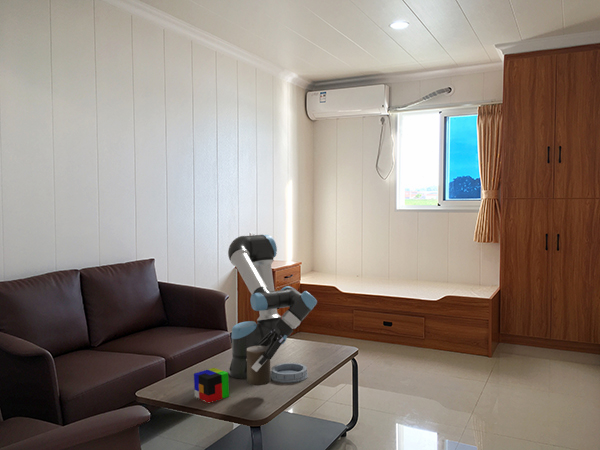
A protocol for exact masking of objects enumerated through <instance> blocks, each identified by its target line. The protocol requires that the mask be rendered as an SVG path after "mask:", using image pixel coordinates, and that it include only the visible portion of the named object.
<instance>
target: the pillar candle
mask: <svg viewBox="0 0 600 450" xmlns="http://www.w3.org/2000/svg"><path fill="white" fill-rule="evenodd" d="M267 348H268V347H267V346H253V347H249V348H247V378H246V381H247V384H248V385H252V386H266V385H268V384H270V383H271V380H272V379H271V359H267V360H266V362H265V363H264V364H263V365H262V366H261V367H260V369H259V370H258V371H257V372H256V371H255V370H253V369H252V368H251V367H252V366H253V365H254V364H255V362H256V361H257V360H258V359H259V358H260V357H261V355H262V354H263V353H265V351H266V350H267Z"/></svg>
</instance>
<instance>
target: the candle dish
mask: <svg viewBox="0 0 600 450" xmlns="http://www.w3.org/2000/svg"><path fill="white" fill-rule="evenodd" d="M270 372H271V380H272V381H274V382H276V383H279V384H280V383H282V384H292V383H299V382H300V383H301V382H303V381H305V380H306V379H308V374H309V373H308V367H307V366H306V365H305V364H302V363H299V362H283V363H279V364H275V365H273V366H271V367H270Z"/></svg>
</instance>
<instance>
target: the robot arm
mask: <svg viewBox="0 0 600 450" xmlns="http://www.w3.org/2000/svg"><path fill="white" fill-rule="evenodd" d="M277 248H278V246H277V243H276V241H275V239H274V237H273V236H271V235H270V234H253V235H240V236H238V237H236V238H235V239H234V240H233V241H231V243H230V244H229V247H228V251H227V255H228V259H229V262H230V264H231V265H233V266H234V267H235V268H236V269H237V271H238V272H239V275H240V276H241V278H242V280H243V282H244V284H245V285H246V287H247V289H248V291H249V293H250V306H251V309H252V310H253V311H255V312H259V317H258V318H257V319H256V321H257V323H256V321H254V320H248V321H242V322H241V321H240V322H239V323H236V324H235V325H233V326H232V328H231V335H230V336H231V353H232V357H231V361H230V365H229V368H228V376H230V377H231V378H234V379H241V380H242V379H247V348H249V347H253V346H267V347H268V348H267V350H266V351H265V353H263V354H262V355H261V357H260V358H259V359H258V360H257V361H256V362H255V364H254V365H253V366H252V367H251V368H252V369H253V370H255V371H256V372H257V371H258V370H259V369H260V367H261V366H262V365H263V364H264V363H265V362H266V360H267V359H270V360H272V359H273V357H274V355H275V354H276V353H277V351H278V350H279V349H280V347H281V346H282V345H284V344H285V342H286V340H287V338H288V337H290V336H291V334H292V333H293V332H294V330H295V329H297V327H299V326H300V324H301V323H302V322H303V320H304V319H306V317H307V316H308V315H309V314H310V312H311V311H312V310H314V307H316V305H317V304H318V300H317V299H316V298H315V297H314V295H312V294H311V293H310V292H308V291H307V290H304V291H303V292H302V293H301V292H299V291H298V290H297V289H296V288H294V287H292V286H289V285H287V286H284V287H282V288H281V289H280V290H275V286H274V285H275V284H274V276H273V270H272V263H273V262H274V258H275V257H276V256H277V252H278V249H277ZM283 308H284V309H285V308H288V309H287V310H286V311H285V312H283V314H282V315H280V314H279V313H278V309H283Z"/></svg>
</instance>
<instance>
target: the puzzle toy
mask: <svg viewBox="0 0 600 450" xmlns="http://www.w3.org/2000/svg"><path fill="white" fill-rule="evenodd" d="M193 383H194V390H193V391H194V397H195V396H196V397H199V398H200V399H202V400H205V401H206V402H212V401H215V402H217V401H216V400H218V401H220V399H221V400H224V399H225V398H226V399H227V398H229V397H230V387H229V371H228V372H227V371H224V370H222V369H219V368H216V367H211V368H208V369H204V370H201V371H199V372H195V373H194V374H193ZM223 398H224V399H223ZM202 400H201V401H202ZM206 402H205V403H206ZM212 403H213V402H212Z"/></svg>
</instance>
